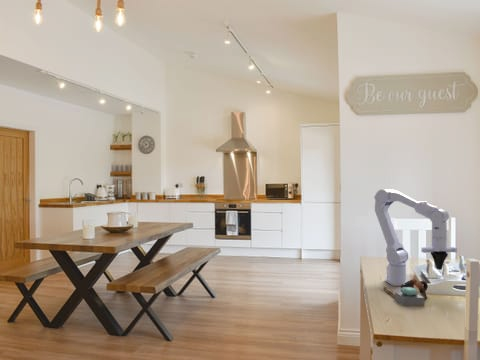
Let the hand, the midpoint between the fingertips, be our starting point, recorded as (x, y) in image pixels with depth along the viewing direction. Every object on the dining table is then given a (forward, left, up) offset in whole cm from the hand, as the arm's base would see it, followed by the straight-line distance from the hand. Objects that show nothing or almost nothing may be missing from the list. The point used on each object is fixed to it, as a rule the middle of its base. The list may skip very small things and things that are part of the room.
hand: (438, 269), depth 175 cm
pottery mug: (+5, -13, -10) cm, 17 cm away
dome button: (+13, -19, -9) cm, 25 cm away
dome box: (+13, -19, -10) cm, 25 cm away
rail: (+3, -22, -10) cm, 24 cm away
